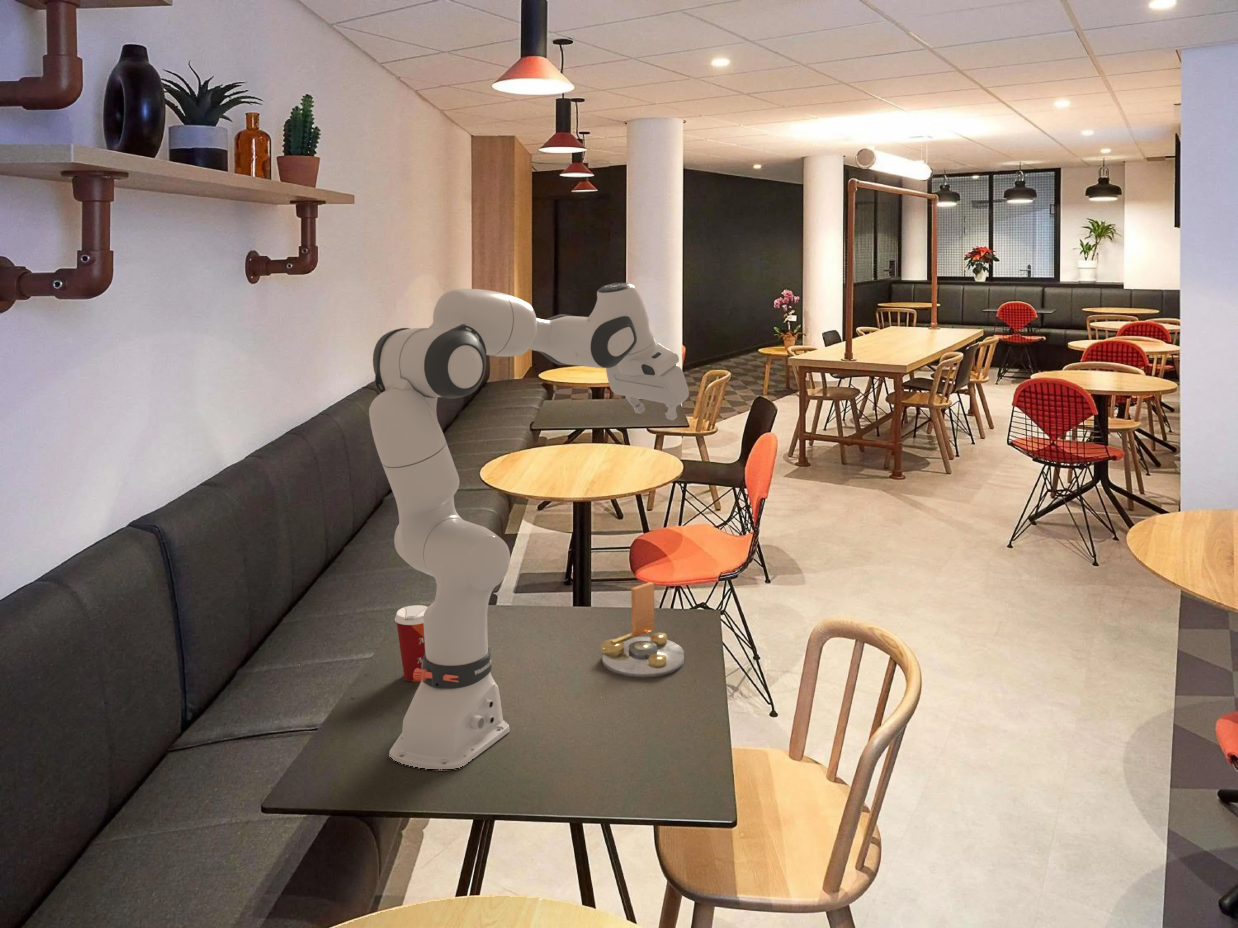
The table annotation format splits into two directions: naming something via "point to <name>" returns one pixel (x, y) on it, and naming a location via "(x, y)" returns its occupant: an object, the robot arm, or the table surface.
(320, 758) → the table surface
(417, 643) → the paper cup
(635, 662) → the levelling base
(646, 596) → the vane knob
